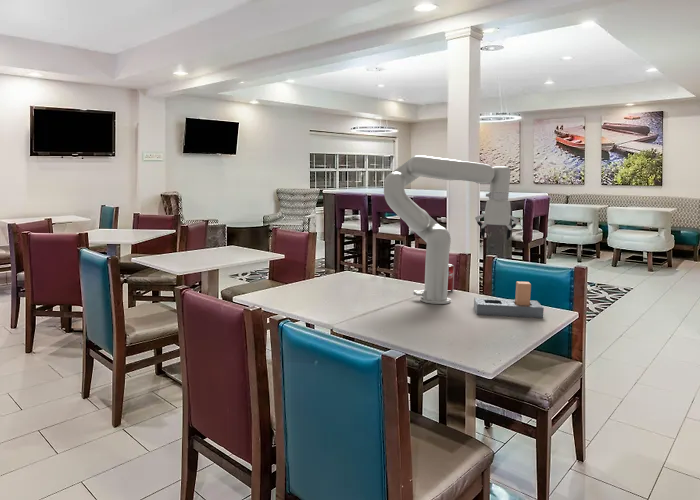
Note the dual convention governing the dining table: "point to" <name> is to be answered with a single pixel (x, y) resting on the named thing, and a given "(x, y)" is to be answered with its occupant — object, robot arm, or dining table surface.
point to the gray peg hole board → (507, 308)
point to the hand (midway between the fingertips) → (495, 238)
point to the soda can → (450, 277)
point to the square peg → (522, 293)
